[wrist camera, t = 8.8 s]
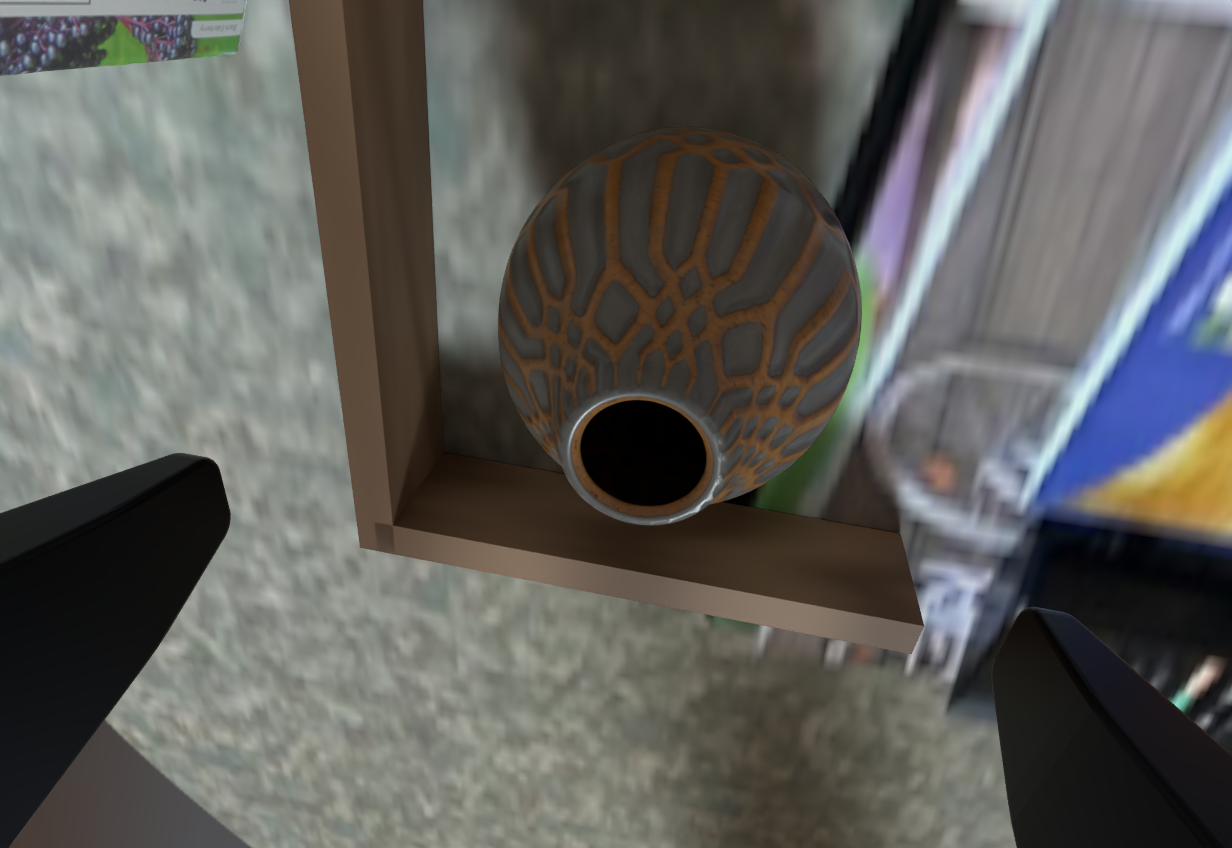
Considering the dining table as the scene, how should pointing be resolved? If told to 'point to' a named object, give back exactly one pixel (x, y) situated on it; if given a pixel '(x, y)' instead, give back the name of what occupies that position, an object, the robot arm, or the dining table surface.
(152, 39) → the syrup box
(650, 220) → the vase
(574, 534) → the frame
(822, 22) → the dining table surface
